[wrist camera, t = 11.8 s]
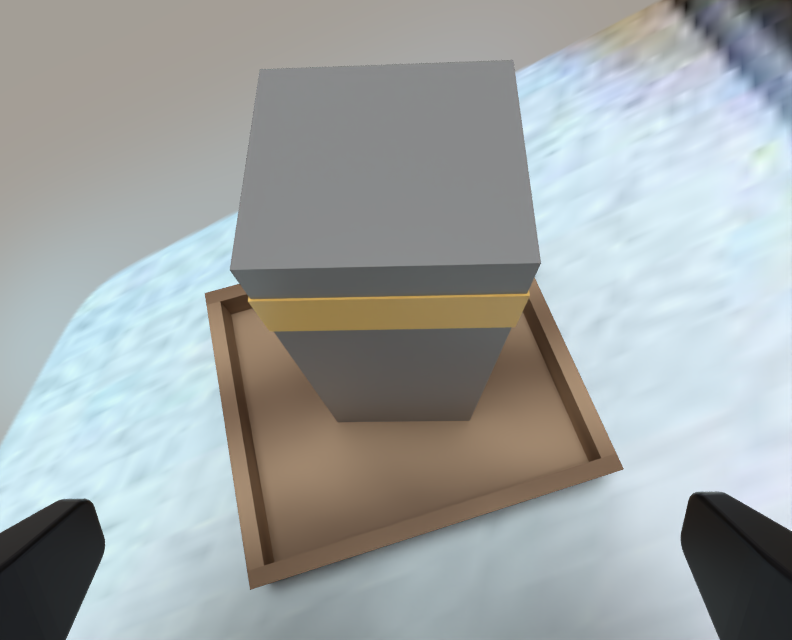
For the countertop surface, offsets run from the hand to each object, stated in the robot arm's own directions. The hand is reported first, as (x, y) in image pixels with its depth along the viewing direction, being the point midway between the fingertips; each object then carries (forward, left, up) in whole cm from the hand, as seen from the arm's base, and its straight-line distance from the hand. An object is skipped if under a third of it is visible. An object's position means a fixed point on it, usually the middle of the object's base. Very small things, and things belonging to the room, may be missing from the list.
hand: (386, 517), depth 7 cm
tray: (+6, -1, -14) cm, 15 cm away
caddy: (+6, -2, -13) cm, 14 cm away
